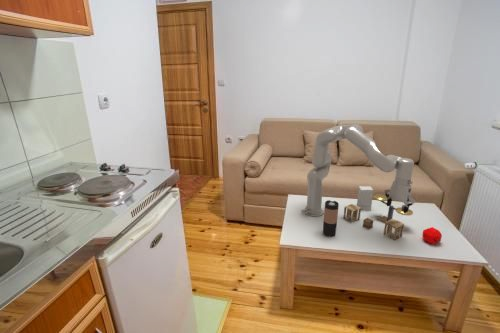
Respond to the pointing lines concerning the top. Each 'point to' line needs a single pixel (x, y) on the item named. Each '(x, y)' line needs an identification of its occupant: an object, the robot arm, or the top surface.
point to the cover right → (395, 224)
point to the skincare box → (365, 197)
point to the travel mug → (330, 218)
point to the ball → (432, 235)
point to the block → (368, 223)
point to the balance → (390, 209)
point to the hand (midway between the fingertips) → (396, 208)
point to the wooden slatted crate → (350, 213)
